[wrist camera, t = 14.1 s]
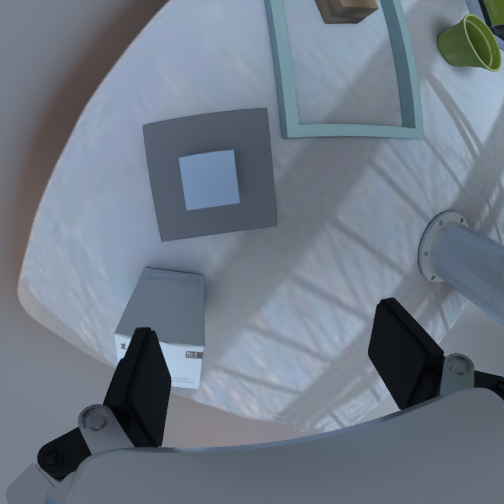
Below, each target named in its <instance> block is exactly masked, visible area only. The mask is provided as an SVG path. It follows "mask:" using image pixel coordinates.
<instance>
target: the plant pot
mask: <svg viewBox="0 0 504 504" xmlns="http://www.w3.org/2000/svg"><path fill="white" fill-rule="evenodd" d="M437 43H438V47H439V50H440V52H441V54H442V56H443V57H444V58H445V59H447V61H448V62H449V63H450V64H451V65H453V66H470V67H482V68H484V69H488V70H490V71H492V72H497V71H499V70H500V68H501V64H502V58H501V52H500V49H499V46H498V43H497V41H496V39H495V37H494V35H493V33H492V32H491V30H490V29H489V27H488V26H487V25H486V24H485V23H484V22H483V21H482V20H481V19H480V18H479V17H477V16H475V15H473V14H467V15H465V16H464V18H463V20H461V21H460V23H458V24H456V25H455V26H453V27H451V28H450V29H448V30H446V31H444V32H443V33H441V34H439V37H438V40H437Z"/></svg>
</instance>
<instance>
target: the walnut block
mask: <svg viewBox="0 0 504 504" xmlns="http://www.w3.org/2000/svg"><path fill="white" fill-rule="evenodd" d="M315 2H316V5H317V7H318V9H319V11H320V14H321V16H322V18H323V21H324V23H325V24H341V23H355V24H357V23H359V22H360V21H362V20H363V19H364V18H366V17H367V16H369V15H370V14H372V13H373V12H374V11H376V10H377V9H379V8H378V6H377V4H376V2H375V0H315Z"/></svg>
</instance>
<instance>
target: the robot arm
mask: <svg viewBox="0 0 504 504" xmlns="http://www.w3.org/2000/svg"><path fill="white" fill-rule="evenodd" d="M418 261H419V267H420V270H421V273H422V274H423V276H424V277H425V278H426V279H428V280H429V281H430V282H433V283H441V282H444V281H446V282H447V283H448V284H450V285H451V286H452V287H454V288H455V289H456V290H458V291H459V292H460V293H461V294H463V295H464V296H465V297H467V298H468V299H469V300H470V301H472V302H473V303H474V304H475V305H477V306H478V307H479V308H480V309H482V310H483V311H484V312H485V313H486V314H488V315H489V316H490V317H491V318H492V319H494V320H495V321H496V322H497V323H499V324H500V325H503V326H504V245H502V244H500V243H498V242H496V241H494V240H492V239H490V238H489V237H487V236H485V235H483V234H481V233H478V232H476V231H474V230H472V229H470V228H469V225H468V223H467V220H466V219H465V217H464V216H463V215H461V214H460V213H457V212H455V211H446V212H443V213H441V214H440V215H438V216H437V217H436V218H435V219H434V220H433V221H432V222H431V224H430V225H429V226H428V228H427V230H426V231H425V233H424V236H423V238H422V241H421V244H420V249H419V260H418ZM443 354H444V351H443V350H442V349H441V348H440V347H439V346H438V344H437V343H436V342H435V341H434V340H433V339H432V338H431V337H430V335H429V334H428V333H427V332H426V331H425V330H424V329H423V328H422V327H421V326H420V325H419V323H418V322H417V321H416V320H415V319H414V318H413V317H412V316H411V315H410V314H409V313H408V312H407V311H406V310H405V308H404V307H403V306H402V305H401V304H400V303H399V302H398V301H397V300H396V299H395V298H387V299H382V300H381V301H380V303H379V304H377V307H376V313H375V318H374V324H373V329H372V334H371V339H370V344H369V348H368V355H369V358H370V360H371V361H372V363H373V365H374V366H375V368H376V370H377V371H378V373H379V375H380V376H381V378H382V380H383V382H384V383H385V385H386V387H387V388H388V390H389V392H390V393H391V395H392V397H393V399H394V400H395V402H396V404H397V405H398V407H399V409H400V410H401V411H398V412H395V413H392V414H389V415H386V416H384V417H380V418H377V419H374V420H371V421H367V422H364V423H361V424H357V425H353V426H350V427H346V428H342V429H338V430H334V431H330V432H325V433H321V434H316V435H311V436H306V437H300V438H295V439H289V440H282V441H276V442H268V443H260V444H251V445H240V446H227V447H226V446H225V447H201V448H199V447H198V448H168V447H167V448H165V447H161V445H162V441H163V433H164V427H165V420H166V414H167V407H168V401H169V395H170V389H171V383H172V380H171V375H170V372H169V369H168V367H167V364H166V361H165V358H164V355H163V352H162V349H161V346H160V343H159V340H158V337H157V334H156V331H155V330H151V328H150V327H137V328H136V329H135V331H134V334H133V336H132V338H131V341H130V343H129V346H128V348H127V351H126V353H125V356H124V358H122V359H120V361H119V363H118V365H117V368H116V370H115V373H114V375H113V378H112V381H111V383H110V386H109V388H108V391H107V394H106V397H105V399H104V402H103V405H101V404H95V405H94V404H93V405H91V406H88V407H86V408H85V409H84V410H83V411H82V412H81V413H80V415H79V417H78V425H79V427H77V428H75V429H73V430H72V431H70V432H68V433H66V434H64V435H62V436H61V437H59V438H57V439H55V440H53V441H51V442H49V443H47V444H45V445H44V446H43V447H42V448H41V449H40V450H39V453H38V456H37V461H38V463H37V464H36V465H35V464H33V463H32V464H31V465H30V466H29V467H28V468H27V469H26V470H25V471H24V472H23V473H22V474H21V475H20V476H19V477H18V478H16V479H15V480H14V481H13V482H12V483H11V484H10V485H9V486H8V488H7V490H6V498H7V501H8V503H9V504H504V375H503V376H497V375H493V374H488V373H483V372H480V371H475V370H474V365H473V362H472V361H471V360H470V359H469V358H468V357H467V356H465V355H463V354H457V353H455V354H450V355H448V356H447V357H445V356H444V355H443ZM158 446H160V447H158Z"/></svg>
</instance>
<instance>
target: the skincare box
mask: <svg viewBox="0 0 504 504" xmlns="http://www.w3.org/2000/svg"><path fill="white" fill-rule="evenodd" d="M137 327H150V328H151V330H155V331H156V334H157V337H158V340H159V343H160V346H161V349H162V352H163V355H164V358H165V361H166V364H167V367H168V369H169V372H170V375H171V380H172V383H171V386H174V387H183V388H192V389H199V385H200V378H201V371H202V364H203V356H204V350H205V328H204V276H203V275H197V274H189V273H182V272H175V271H167V270H159V269H151V268H145V269H144V271H143V273H142V275H141V277H140V279H139V281H138V283H137V285H136V287H135V290H134V292H133V294H132V296H131V298H130V300H129V302H128V304H127V306H126V309H125V311H124V313H123V315H122V318H121V320H120V322H119V324H118V327H117V329H116V331H115V333H114V340H115V349H116V356H117V362H118V363H119V361H120V359H122V358H124V356H125V353H126V351H127V348H128V346H129V343H130V341H131V338H132V336H133V334H134V331H135V329H136V328H137Z"/></svg>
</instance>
